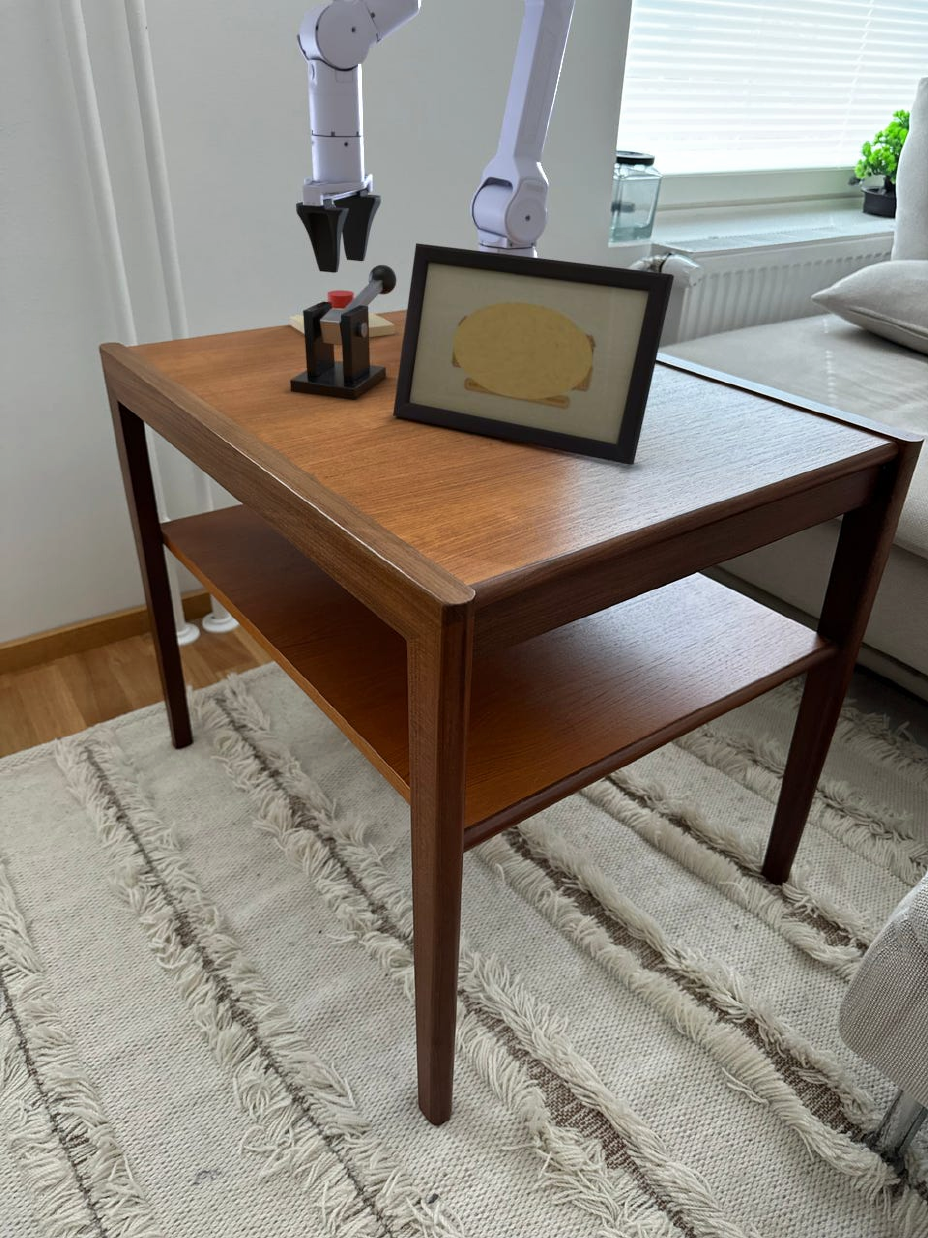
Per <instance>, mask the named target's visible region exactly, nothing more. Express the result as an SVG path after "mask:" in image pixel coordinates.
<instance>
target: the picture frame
mask: <svg viewBox="0 0 928 1238" xmlns="http://www.w3.org/2000/svg"><path fill="white" fill-rule="evenodd" d="M674 278H675V275H674V274H672V273H665V272H658V271H649V270H640V269H633V268H623V267H615V266H606V265H600V264H591V263H590V264H589V263H582V262H575V261H565V260H557V259H550V258H541V257H537V258H534V257H526V256H517V255H509V254H501V253H493V252H484V251H478V250H477V249H476V250H475V249H467V248H461V247H460V248H459V247H450V246H441V245H433V244H425V243H419V242H418V243H417V242H415V248H414V255H413V262H412V270H411V278H410V285H409V292H408V300H407V308H406V316H405V323H404V331H403V338H402V344H401V352H400V360H399V368H398V369H399V370H398V375H397V382H396V389H395V396H394V397H395V398H394V404H393V412H392V416H393V417H398V418H404V419H408V420H413V421H417V422H423V423H427V424H433V425H437V426H442V427H446V428H451V429H457V430H461V431H464V432H465V431H466V432H470V433H475V434H480V435H484V436H489V437H494V438H500V439H504V440H509V441H514V442H518V443H523V444H528V445H532V446H536V447H537V446H538V447H542V448H545V449H552V450H556V451H561V452H565V453H566V452H567V453H571V454H575V455H580V456H585V457H590V458H594V459H600V460H604V461H610V462H613V463H619V464H623V465H628V466H634V465H635V461H636V455H637V451H638V446H639V442H640V438H641V437H640V436H641V431H642V428H643V423H644V419H645V413H646V408H647V404H648V400H649V394H650V390H651V386H652V381H653V378H654V377H653V376H654V372H655V367H656V362H657V358H658V354H659V353H658V352H659V349H660V343H661V339H662V335H663V330H664V325H665V321H666V315H667V312H668V311H667V310H668V307H669V302H670V298H671V292H672V288H673V283H674Z"/></svg>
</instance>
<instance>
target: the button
mask: <svg viewBox="0 0 928 1238" xmlns="http://www.w3.org/2000/svg"><path fill="white" fill-rule="evenodd" d="M326 293H327V294H326V295H327V300H328V302H332V308H335V309H344V308H345V307H346V306H347V305H348V304H349V303H350V302H351V301H352V300H353V299H354V298H355V292H353V291H351V290H344V289H340V290H338V289H337V290H331V291H328V292H326Z"/></svg>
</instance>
